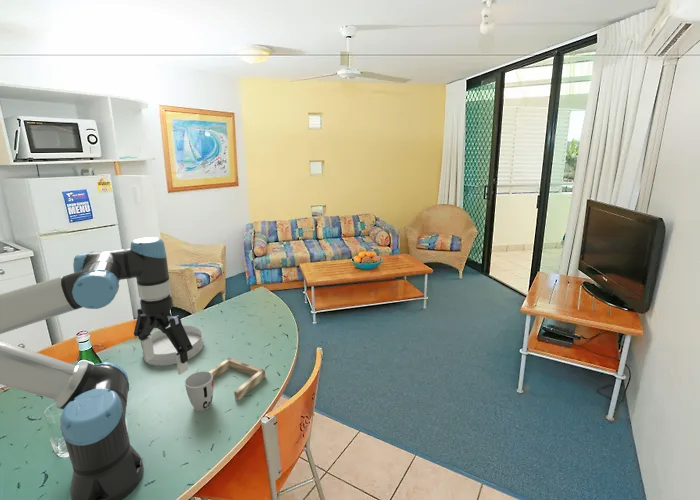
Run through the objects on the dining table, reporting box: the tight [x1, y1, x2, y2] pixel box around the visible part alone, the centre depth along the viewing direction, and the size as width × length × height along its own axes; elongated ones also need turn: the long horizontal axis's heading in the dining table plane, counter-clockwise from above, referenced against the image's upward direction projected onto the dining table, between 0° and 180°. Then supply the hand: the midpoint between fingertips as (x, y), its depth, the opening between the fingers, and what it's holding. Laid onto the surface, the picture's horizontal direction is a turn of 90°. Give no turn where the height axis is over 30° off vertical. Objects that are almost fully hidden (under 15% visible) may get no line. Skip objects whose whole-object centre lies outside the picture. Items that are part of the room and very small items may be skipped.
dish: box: [141, 325, 204, 366], centre depth 148 cm, size 22×22×5 cm
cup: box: [184, 370, 214, 412], centre depth 116 cm, size 8×8×10 cm
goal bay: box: [208, 357, 266, 401], centre depth 129 cm, size 14×17×3 cm
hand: (166, 365), depth 104 cm, fingers open, 13 cm apart
